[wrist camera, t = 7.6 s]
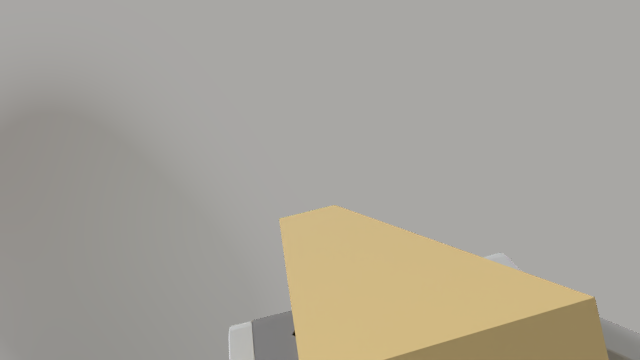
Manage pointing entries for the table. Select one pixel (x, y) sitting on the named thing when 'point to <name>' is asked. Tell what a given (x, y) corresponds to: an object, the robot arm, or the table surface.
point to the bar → (422, 298)
